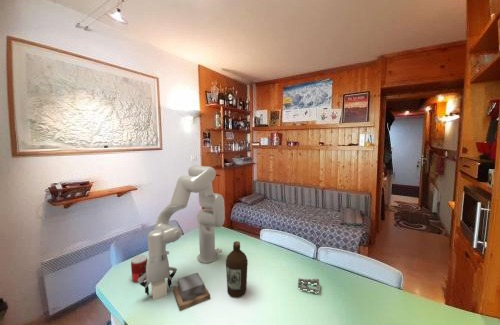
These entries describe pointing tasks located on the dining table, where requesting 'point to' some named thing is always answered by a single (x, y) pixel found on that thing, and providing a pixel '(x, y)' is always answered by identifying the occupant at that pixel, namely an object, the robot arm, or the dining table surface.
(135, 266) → the canned food
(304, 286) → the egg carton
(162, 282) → the cream cube
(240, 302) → the dining table surface
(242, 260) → the olive oil
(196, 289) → the pedestal
